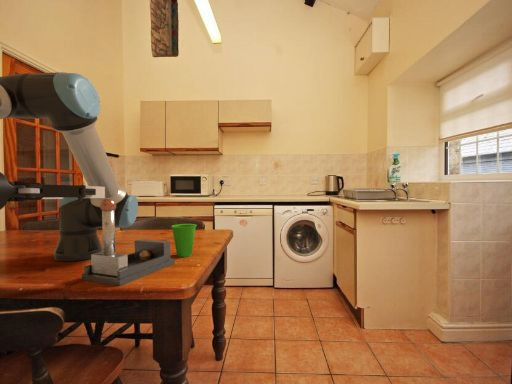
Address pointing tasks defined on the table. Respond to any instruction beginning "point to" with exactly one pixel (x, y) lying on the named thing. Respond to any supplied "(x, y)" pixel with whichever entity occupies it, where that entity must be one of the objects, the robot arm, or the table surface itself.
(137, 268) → the base
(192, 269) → the table surface
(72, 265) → the table surface
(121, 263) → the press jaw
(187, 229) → the cup
